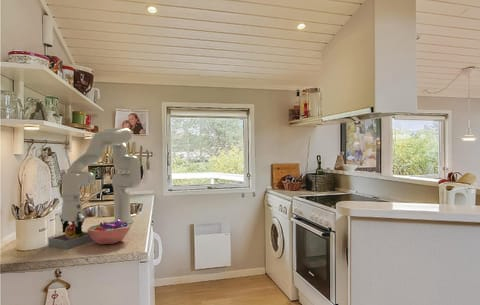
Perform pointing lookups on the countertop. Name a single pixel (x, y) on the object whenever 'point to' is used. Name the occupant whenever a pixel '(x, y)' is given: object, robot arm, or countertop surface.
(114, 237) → the cell model
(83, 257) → the countertop surface
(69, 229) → the bird rattle
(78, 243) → the grey picture frame
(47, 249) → the countertop surface
